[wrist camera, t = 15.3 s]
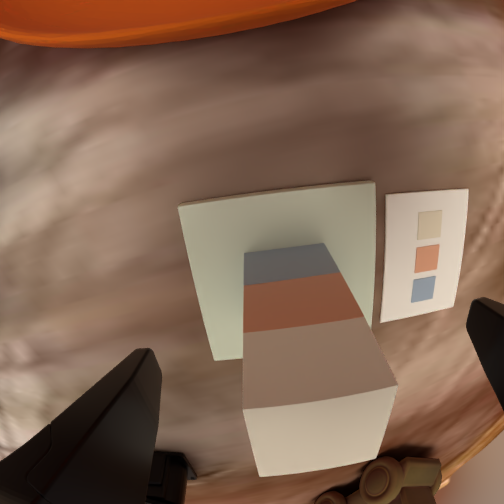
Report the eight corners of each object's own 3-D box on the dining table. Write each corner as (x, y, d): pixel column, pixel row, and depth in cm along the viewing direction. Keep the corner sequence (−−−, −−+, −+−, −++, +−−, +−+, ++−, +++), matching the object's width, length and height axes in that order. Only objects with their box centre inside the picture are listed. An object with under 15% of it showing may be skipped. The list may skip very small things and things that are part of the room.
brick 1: (340, 346, 18) (357, 394, 15) (256, 358, 18) (258, 409, 15) (340, 271, 16) (364, 315, 13) (243, 285, 16) (243, 333, 13)
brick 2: (355, 395, 15) (375, 458, 11) (257, 409, 15) (259, 476, 11) (364, 316, 13) (398, 384, 9) (243, 332, 13) (242, 409, 9)
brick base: (325, 309, 22) (339, 346, 18) (254, 319, 22) (255, 357, 18) (323, 242, 20) (340, 271, 16) (244, 252, 20) (243, 284, 16)
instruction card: (452, 305, 23) (453, 307, 23) (379, 321, 23) (380, 323, 23) (467, 188, 19) (469, 189, 19) (385, 194, 20) (387, 195, 19)
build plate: (367, 333, 24) (369, 339, 23) (215, 353, 24) (214, 360, 24) (370, 180, 19) (375, 182, 18) (180, 203, 20) (177, 206, 19)
